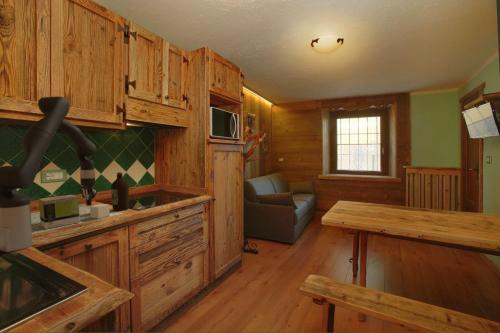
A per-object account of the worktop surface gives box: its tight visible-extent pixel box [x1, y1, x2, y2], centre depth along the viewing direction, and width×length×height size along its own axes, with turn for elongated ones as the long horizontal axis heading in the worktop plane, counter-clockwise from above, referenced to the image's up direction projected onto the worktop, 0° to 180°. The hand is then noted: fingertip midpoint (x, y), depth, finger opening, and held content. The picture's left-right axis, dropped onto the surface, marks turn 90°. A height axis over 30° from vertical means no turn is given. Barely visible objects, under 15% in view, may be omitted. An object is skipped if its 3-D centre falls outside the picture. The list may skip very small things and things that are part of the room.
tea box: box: [38, 194, 81, 230], centre depth 129 cm, size 15×10×15 cm, turn 141°
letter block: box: [89, 203, 111, 220], centre depth 143 cm, size 7×7×7 cm
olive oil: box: [110, 171, 130, 212], centre depth 161 cm, size 11×11×25 cm
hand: (88, 205), depth 147 cm, fingers closed
